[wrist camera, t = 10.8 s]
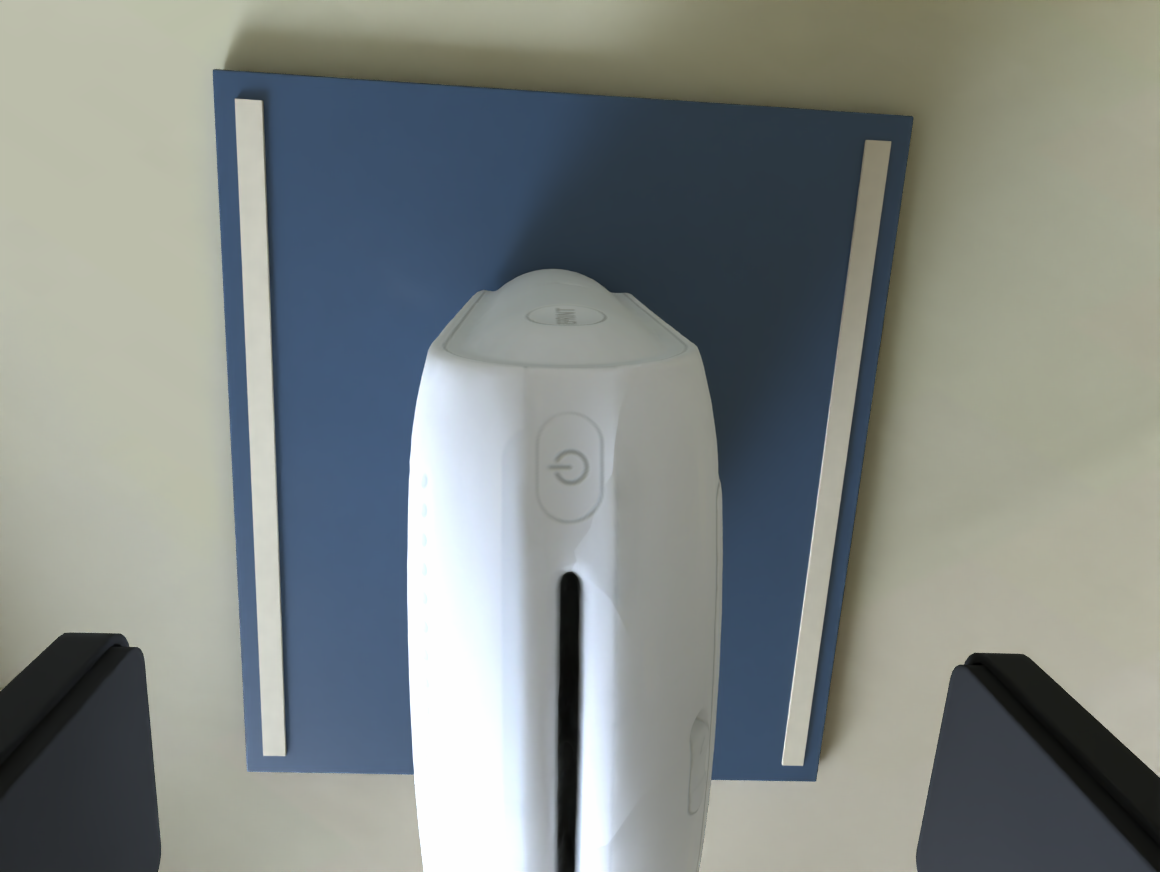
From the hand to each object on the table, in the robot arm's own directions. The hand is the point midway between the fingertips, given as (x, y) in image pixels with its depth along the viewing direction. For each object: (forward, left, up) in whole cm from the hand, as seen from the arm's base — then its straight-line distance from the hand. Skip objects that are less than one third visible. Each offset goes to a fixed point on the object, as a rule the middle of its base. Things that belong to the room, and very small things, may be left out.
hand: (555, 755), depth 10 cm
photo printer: (0, 0, -12) cm, 12 cm away
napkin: (0, 0, -13) cm, 13 cm away
